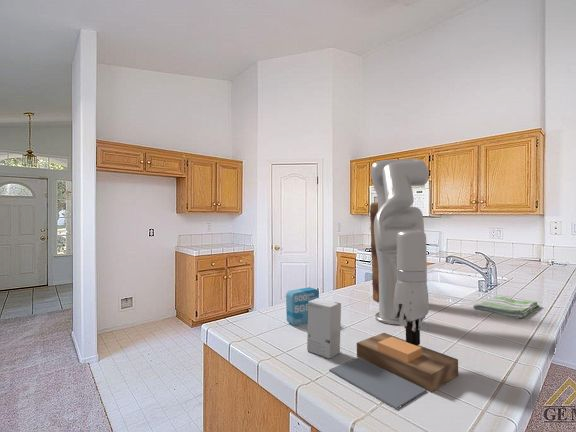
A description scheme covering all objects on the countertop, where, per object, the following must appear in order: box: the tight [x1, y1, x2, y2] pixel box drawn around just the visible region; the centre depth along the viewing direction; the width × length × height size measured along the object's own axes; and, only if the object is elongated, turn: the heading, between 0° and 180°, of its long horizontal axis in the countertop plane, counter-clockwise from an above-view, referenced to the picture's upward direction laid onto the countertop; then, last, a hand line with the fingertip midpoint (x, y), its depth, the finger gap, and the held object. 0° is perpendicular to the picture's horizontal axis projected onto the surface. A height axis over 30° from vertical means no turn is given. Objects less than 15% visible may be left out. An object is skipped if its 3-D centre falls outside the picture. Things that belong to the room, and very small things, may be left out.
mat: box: [328, 357, 427, 410], centre depth 75 cm, size 11×20×1 cm, turn 35°
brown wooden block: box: [356, 332, 459, 393], centre depth 82 cm, size 12×22×4 cm, turn 35°
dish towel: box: [472, 296, 540, 320], centre depth 129 cm, size 17×23×4 cm
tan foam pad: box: [378, 337, 422, 362], centre depth 81 cm, size 9×6×2 cm, turn 36°
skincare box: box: [306, 297, 342, 359], centre depth 91 cm, size 8×6×15 cm
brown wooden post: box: [369, 202, 379, 303], centre depth 144 cm, size 10×11×45 cm
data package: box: [285, 286, 320, 327], centre depth 117 cm, size 12×4×12 cm, turn 121°
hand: (412, 343), depth 85 cm, fingers closed
